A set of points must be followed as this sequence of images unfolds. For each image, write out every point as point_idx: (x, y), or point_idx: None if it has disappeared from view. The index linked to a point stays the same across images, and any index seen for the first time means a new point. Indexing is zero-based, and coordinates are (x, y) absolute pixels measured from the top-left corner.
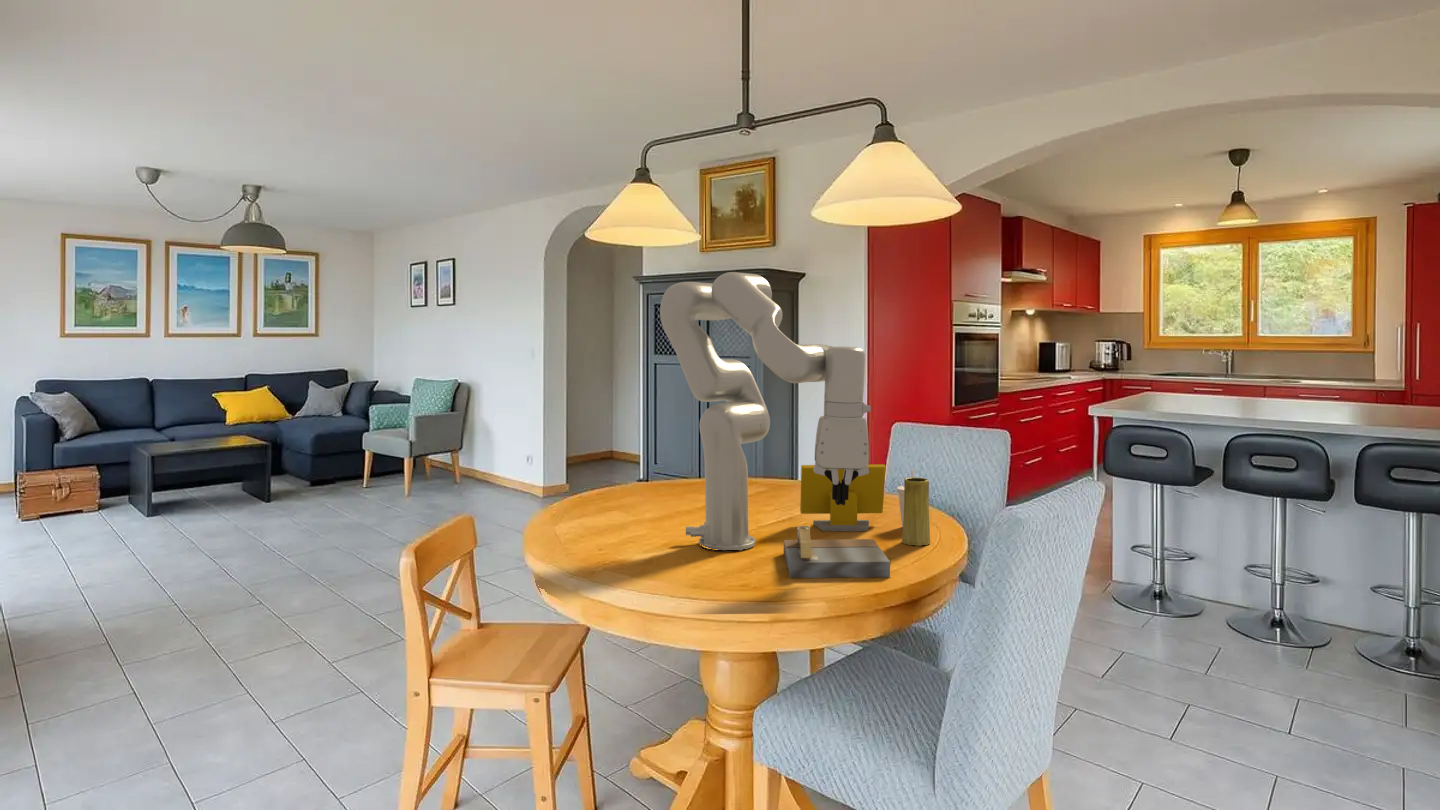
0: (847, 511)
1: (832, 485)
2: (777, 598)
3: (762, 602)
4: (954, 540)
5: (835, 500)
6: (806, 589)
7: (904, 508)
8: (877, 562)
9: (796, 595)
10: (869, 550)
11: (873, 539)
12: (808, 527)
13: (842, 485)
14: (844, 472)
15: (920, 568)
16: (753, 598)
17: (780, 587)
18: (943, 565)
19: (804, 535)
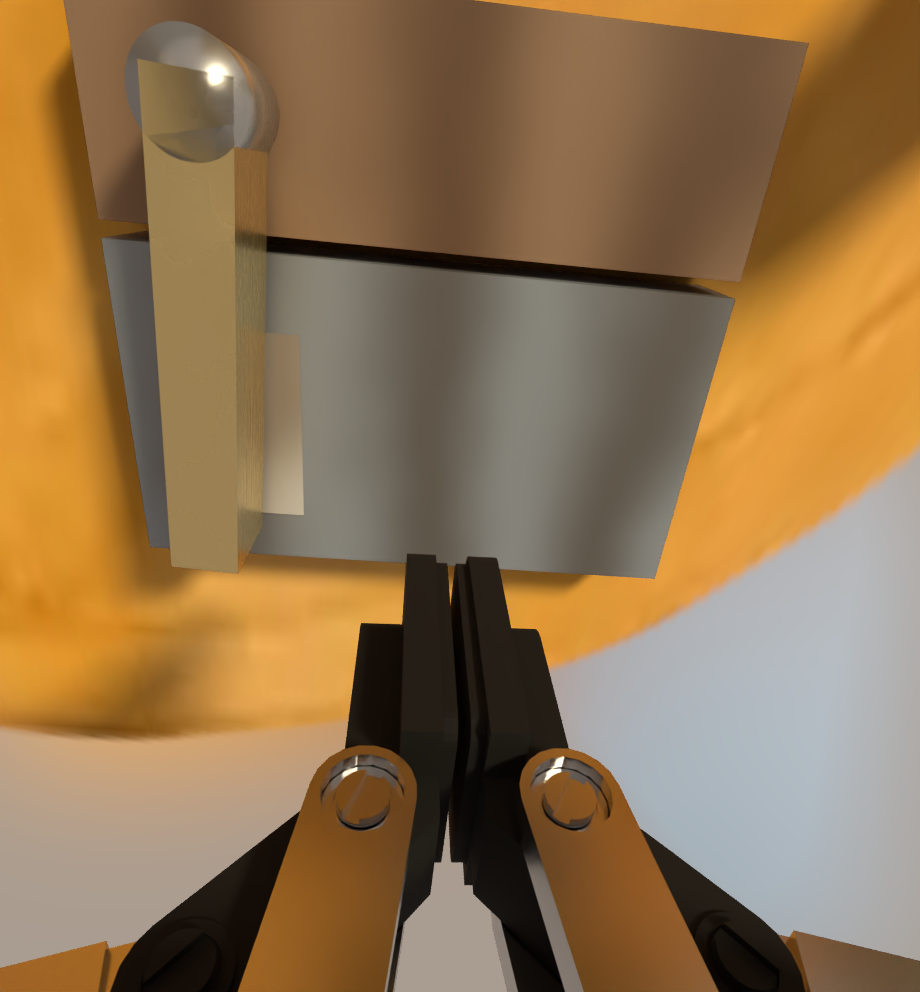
0: None
1: (346, 744)
2: (141, 709)
3: (91, 736)
4: None
5: (404, 598)
6: (251, 639)
7: None
8: (593, 573)
9: (211, 690)
10: (641, 368)
11: (803, 58)
12: (232, 107)
13: (460, 859)
14: (556, 958)
15: (838, 429)
16: (52, 704)
17: (144, 611)
18: None
19: (194, 392)
